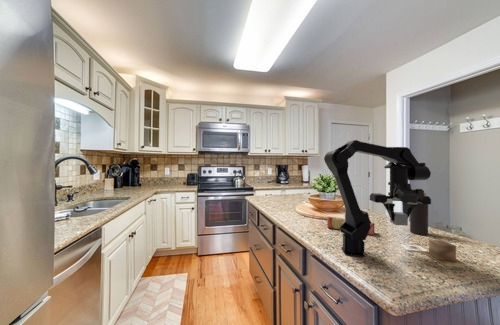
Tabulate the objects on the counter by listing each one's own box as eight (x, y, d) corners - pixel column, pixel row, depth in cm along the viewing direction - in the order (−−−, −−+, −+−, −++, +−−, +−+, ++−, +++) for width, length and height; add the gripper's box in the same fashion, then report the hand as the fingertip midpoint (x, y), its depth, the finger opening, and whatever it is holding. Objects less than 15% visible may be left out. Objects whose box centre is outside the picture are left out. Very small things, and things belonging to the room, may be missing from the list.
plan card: (407, 250, 78) (407, 248, 78) (400, 245, 83) (400, 243, 83) (428, 252, 77) (428, 250, 77) (419, 247, 82) (419, 245, 82)
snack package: (374, 232, 100) (374, 218, 100) (374, 236, 94) (374, 222, 94) (328, 225, 110) (328, 213, 110) (326, 228, 105) (326, 215, 105)
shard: (418, 253, 78) (418, 249, 78) (438, 254, 78) (438, 249, 78) (446, 268, 67) (446, 263, 67) (469, 268, 67) (469, 263, 67)
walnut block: (438, 259, 69) (438, 244, 69) (428, 253, 74) (429, 239, 74) (455, 261, 68) (455, 246, 68) (444, 254, 73) (445, 240, 73)
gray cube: (395, 225, 76) (395, 214, 76) (390, 221, 80) (390, 211, 80) (407, 225, 75) (407, 214, 75) (401, 222, 79) (401, 212, 79)
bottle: (421, 231, 102) (421, 191, 102) (431, 236, 95) (432, 193, 96) (406, 230, 103) (407, 191, 103) (416, 235, 96) (416, 193, 96)
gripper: (381, 181, 71) (381, 226, 71) (442, 182, 68) (442, 229, 68) (369, 179, 82) (369, 217, 82) (421, 180, 79) (421, 220, 79)
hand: (398, 221), depth 78 cm, fingers closed on gray cube, 4 cm apart
